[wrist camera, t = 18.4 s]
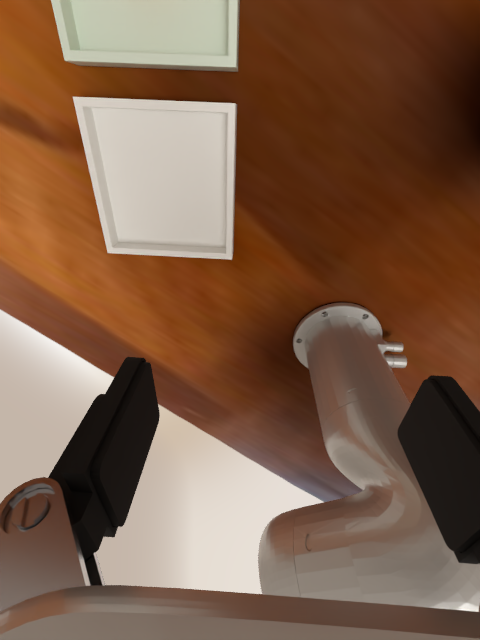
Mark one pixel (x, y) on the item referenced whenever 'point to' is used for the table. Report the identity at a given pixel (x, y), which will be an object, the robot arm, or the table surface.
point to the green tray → (150, 33)
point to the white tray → (162, 174)
